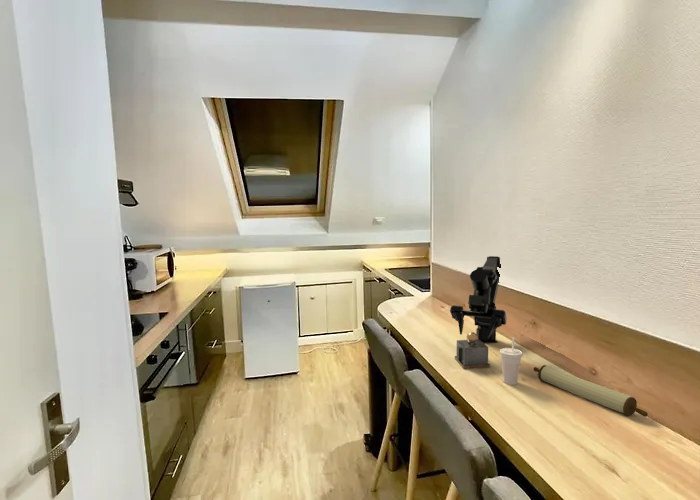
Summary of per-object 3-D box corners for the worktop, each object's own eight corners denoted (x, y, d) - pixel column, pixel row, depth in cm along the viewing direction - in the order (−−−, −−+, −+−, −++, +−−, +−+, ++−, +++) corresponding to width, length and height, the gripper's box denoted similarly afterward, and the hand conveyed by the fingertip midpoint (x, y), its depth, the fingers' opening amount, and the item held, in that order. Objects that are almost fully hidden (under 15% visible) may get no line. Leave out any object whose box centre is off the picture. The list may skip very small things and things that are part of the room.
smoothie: (523, 387, 119) (525, 341, 117) (500, 386, 120) (501, 340, 118) (519, 378, 125) (520, 334, 123) (497, 377, 126) (498, 333, 125)
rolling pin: (527, 377, 126) (527, 362, 125) (539, 374, 128) (539, 359, 128) (640, 426, 97) (641, 406, 97) (653, 420, 100) (654, 401, 99)
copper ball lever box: (479, 357, 143) (480, 338, 142) (490, 367, 134) (490, 347, 133) (453, 358, 142) (453, 339, 141) (462, 368, 133) (462, 348, 132)
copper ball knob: (477, 355, 141) (477, 329, 140) (483, 361, 135) (483, 334, 134) (460, 356, 140) (460, 330, 139) (466, 362, 135) (466, 335, 134)
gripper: (451, 283, 147) (442, 321, 139) (505, 287, 138) (500, 328, 130) (456, 299, 155) (448, 336, 146) (508, 304, 146) (503, 344, 137)
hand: (474, 335), depth 140 cm, fingers open, 9 cm apart
